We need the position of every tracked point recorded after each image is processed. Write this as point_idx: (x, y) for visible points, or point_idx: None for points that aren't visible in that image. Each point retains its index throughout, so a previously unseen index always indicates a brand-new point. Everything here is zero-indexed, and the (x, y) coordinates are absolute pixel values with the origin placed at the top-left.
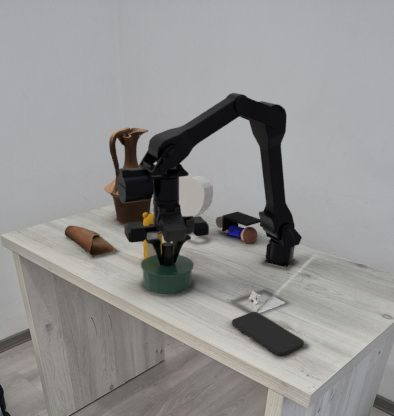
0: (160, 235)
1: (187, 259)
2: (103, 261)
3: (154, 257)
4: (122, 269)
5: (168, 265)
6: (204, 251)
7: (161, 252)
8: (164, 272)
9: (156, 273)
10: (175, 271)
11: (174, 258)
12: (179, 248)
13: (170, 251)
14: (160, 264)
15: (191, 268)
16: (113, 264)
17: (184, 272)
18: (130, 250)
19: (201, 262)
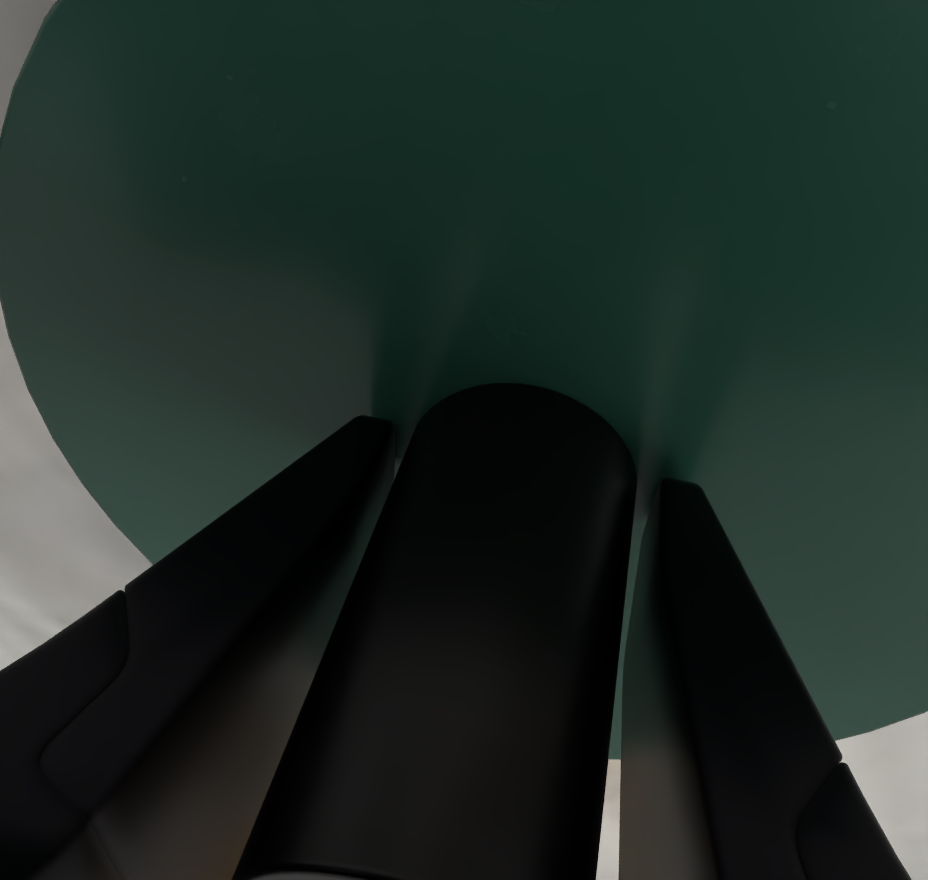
0: None
1: (105, 457)
2: (923, 874)
3: (619, 719)
4: (870, 732)
5: (542, 394)
6: (16, 637)
7: None
8: (837, 108)
9: None
10: (499, 38)
11: (345, 489)
12: (77, 665)
13: (393, 677)
14: (699, 490)
15: (39, 45)
16: (880, 816)
17: None
18: (597, 871)
19: (50, 513)
